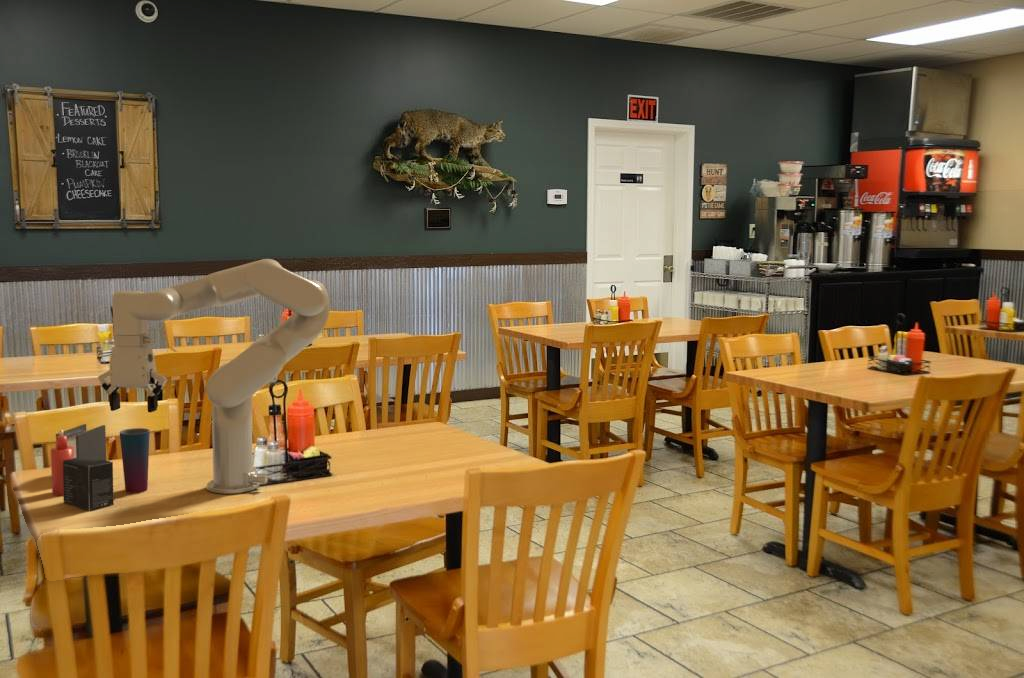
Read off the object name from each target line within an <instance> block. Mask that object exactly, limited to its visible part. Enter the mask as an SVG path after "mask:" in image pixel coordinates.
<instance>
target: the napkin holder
mask: <svg viewBox="0 0 1024 678" xmlns="http://www.w3.org/2000/svg"><path fill="white" fill-rule="evenodd" d="M106 433H107V432H106V425H105V424H102V425H99V426H97V427H94V428H91V429H88V430H87V424H86V423H83V424H80V425H78V426H75V427H72V428H69V429H67V430H63V436H67V446H71V447H73V448H74V458H79V457H84V456H90V457H94V458H98V459H102V460H106V461H108V460H107V436H106ZM57 436H60V432H58V433H55V438H56V437H57Z"/></svg>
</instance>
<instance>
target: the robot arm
mask: <svg viewBox="0 0 1024 678" xmlns="http://www.w3.org/2000/svg"><path fill="white" fill-rule="evenodd" d="M111 297H112V299H111V301H112V321H113V342H114V343H113V345H114V346H112V347H111V353H110V358H109V370H107V371H105V372H104V373H101V374H100V375H98V376H97V377H98V378H97V379H98V380H99V382H100V384H101V387H102V389H103V390H104V391H106V394H107V395H108V399H109V402H108V403H109V407H110V411H111V412H114V411H116V410H117V411H118V410H119V409H121V396H120V395H121V394H120V392H118V391H119V390H120V389H121V388H123V389H124V388H125V389H144V390H145V392H146V393H147V394H148V396H147V397H146V398H147V399H146V400H147V412H148V413H153V412H156V411H157V410H158V407H159V403H158V402H159V401H158V399H159V398H158V395H159V394H160V393H161V391H162V390H164V389H165V385H166V384H167V382H168V378H167V377H166V376H164V375H163V374H161V373H159V372H158V371H157V368H156V360H155V356H154V355H155V354H154V352H153V348H152V346H149V344H150V343H152V342H153V338H152V337H151V336H149V334H148V321H149V322H150V321H151V322H157V323H158V322H159V323H161V322H168V321H169V320H171V319H173V318H175V317H178V316H181V315H184V314H188V313H191V312H195V311H199V310H204V309H206V308H215V307H216V308H221V307H225V306H229V305H233V304H236V303H240V302H243V301H246V300H250V299H251V300H252V299H255V298H258V297H263V298H265V299H267V300H269V301H271V302H273V303H275V304H277V305H279V306H282V307H283V308H286V309H287V310H290V311H291V312H292V313H291V315H290V316H289V317H288V318H286V319H285V320H284V321H282V322H281V323H280V324H279V325H278V326H276V327H275V328H274V329H272V330H271V331H269V332H268V333H267V334H265V335H264V336H262V337H260V338H258V339H257V340H255V341H254V342H252V343H251V344H250V346H248V347H247V348H246V349H245V350H244V351H242V352H241V353H240V354H238V355H237V356H236V357H234V358H233V359H231V360H230V361H229V362H227V363H224V364H222V365H220V366H219V367H218V368H216V369H215V370H214V372H213V373H212V374H211V375H210V377H209V378H208V379H207V382H206V387H205V388H206V389H205V392H206V396H207V398H208V400H209V402H211V403H212V407H211V410H212V412H211V415H212V416H211V420H212V422H211V423H212V424H211V425H212V437H211V438H212V467H213V468H212V475H213V476H212V478H213V479H212V480H209V482H207V483H206V489H207V490H208V491H210V492H211V493H215V494H225V495H226V494H231V495H233V494H240V493H241V494H242V493H246V492H250V491H253V490H255V489H257V488H258V487H259V486H260V484H267V483H268V480H269V479H268V478H269V477H268V475H267V473H258V472H257V467H255V466H253V464H254V463H253V461H254V460H253V395H254V394H255V393H257V392H258V391H259V390H261V389H262V388H263V387H265V386H266V385H267V384H269V383H270V382H271V381H273V380H274V379H275V378H276V377H277V376H278V375H279V374H280V373H281V371H283V369H284V366H285V365H286V364H287V363H289V362H290V361H291V360H292V359H294V357H296V356H297V355H298V354H300V353H301V352H302V351H303V350H304V349H306V348H307V347H308V346H309V345H310V344H312V343H313V342H314V341H315V340H316V339H317V338H318V337H319V336H320V335H321V333H322V332H323V330H324V329H325V327H326V325H327V322H328V320H329V316H330V311H331V310H330V308H331V307H330V306H331V305H330V298H329V293H328V290H327V288H326V287H325V285H324V284H323V283H322V282H320V281H318V280H316V279H307V278H305V277H302V276H301V275H298V274H296V273H294V272H292V271H290V270H288V269H286V268H284V267H283V265H281V264H280V262H278V261H277V260H275V259H273V258H272V259H271V258H263V259H260V260H255V261H252V262H248V263H245V264H241V265H238V266H233V267H231V268H227V269H223V270H220V271H216V272H212V273H209V274H208V275H205V276H203V277H201V278H198V279H194V280H190V281H187V282H184V283H180V284H176V285H172V286H169V287H164V288H161V289H157V290H154V291H148V292H144V291H141V290H128V289H127V290H126V289H125V290H118V291H115V292H113V294H112V296H111ZM108 378H109V380H108ZM156 384H157V385H156Z"/></svg>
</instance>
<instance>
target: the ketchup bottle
mask: <svg viewBox="0 0 1024 678" xmlns="http://www.w3.org/2000/svg"><path fill="white" fill-rule="evenodd" d="M63 431H64V430H63V429H59V431H58V433H60V436H57V437H56V436H55V445H56V446H55V447H52V448H50V467H51V468H50V472H51V491H52V492H51V493H52V494H51V495H52V496H53V495H54V496H58V497H59V496H64V482H63V460H68V459H73V458H74V448H73V447H71V446H67V436H63Z"/></svg>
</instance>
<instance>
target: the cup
mask: <svg viewBox="0 0 1024 678" xmlns="http://www.w3.org/2000/svg"><path fill="white" fill-rule="evenodd" d="M150 432H151V431H150V429H148V428H146V427H145V428H143V427H137V428H136V427H134V428H127V429H121V431H119V441H120V450H121V451H120V452H121V461H122V468H123V469H122V470H123V481H124V488H125V491H124V492H126V493H128V494H139V493H144V492H146V491H148V485H149V462H150V461H149V455H150V453H149V452H150V451H149V450H150Z"/></svg>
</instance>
